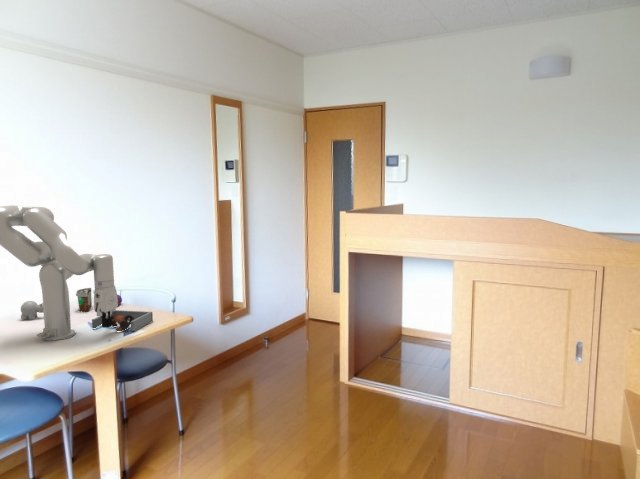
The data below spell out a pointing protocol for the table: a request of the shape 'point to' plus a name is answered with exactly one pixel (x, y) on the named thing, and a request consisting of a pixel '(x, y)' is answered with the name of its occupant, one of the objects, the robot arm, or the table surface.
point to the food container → (84, 299)
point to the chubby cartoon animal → (31, 310)
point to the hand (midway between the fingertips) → (106, 326)
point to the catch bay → (139, 318)
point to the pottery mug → (121, 321)
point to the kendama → (119, 299)
